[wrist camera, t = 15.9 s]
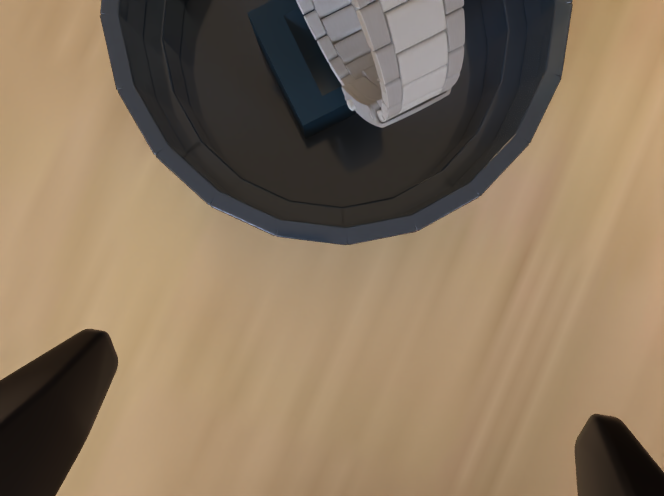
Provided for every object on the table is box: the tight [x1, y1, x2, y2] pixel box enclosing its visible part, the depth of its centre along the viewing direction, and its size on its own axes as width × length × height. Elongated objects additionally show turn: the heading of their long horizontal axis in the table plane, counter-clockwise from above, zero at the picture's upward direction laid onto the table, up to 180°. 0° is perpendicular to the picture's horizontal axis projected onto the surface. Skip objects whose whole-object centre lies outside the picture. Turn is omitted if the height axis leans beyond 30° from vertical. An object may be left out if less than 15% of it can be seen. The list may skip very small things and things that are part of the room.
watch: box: [247, 0, 465, 139], centre depth 15 cm, size 6×8×11 cm
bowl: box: [100, 0, 572, 245], centre depth 18 cm, size 15×15×5 cm
